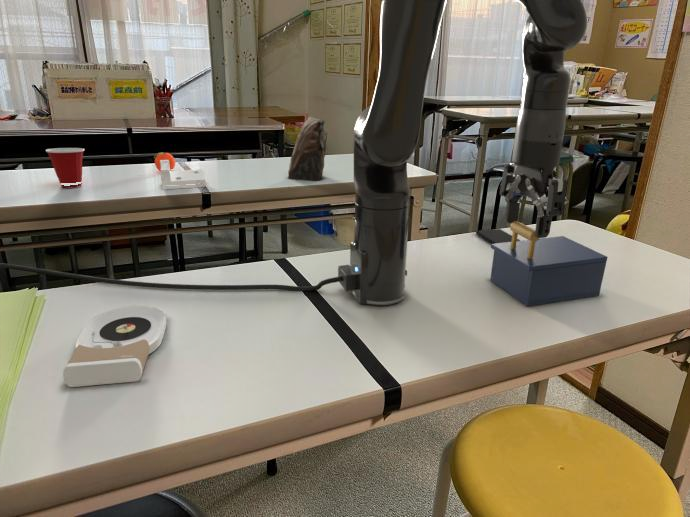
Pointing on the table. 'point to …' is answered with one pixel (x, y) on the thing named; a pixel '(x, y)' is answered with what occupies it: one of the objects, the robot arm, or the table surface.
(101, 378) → the record player
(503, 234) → the smartphone
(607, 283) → the table surface
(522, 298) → the dark blue box
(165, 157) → the tomato
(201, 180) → the bracket
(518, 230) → the box lid
